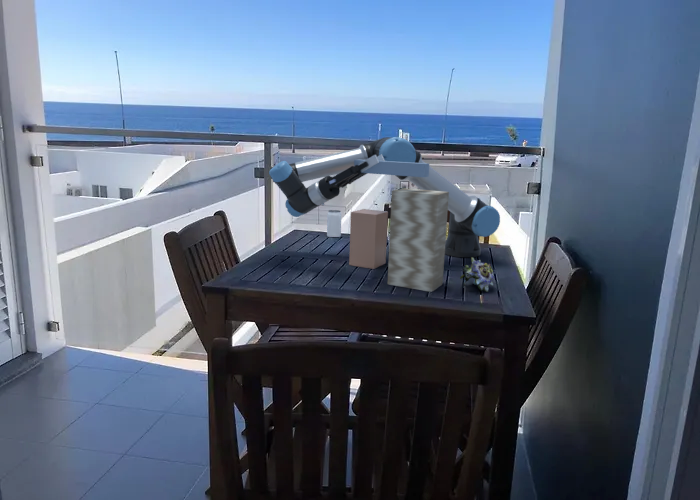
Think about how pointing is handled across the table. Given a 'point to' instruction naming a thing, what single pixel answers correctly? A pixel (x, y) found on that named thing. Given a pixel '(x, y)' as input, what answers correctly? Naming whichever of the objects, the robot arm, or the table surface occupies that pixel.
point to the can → (334, 223)
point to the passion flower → (479, 274)
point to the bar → (398, 168)
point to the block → (368, 238)
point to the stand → (417, 238)
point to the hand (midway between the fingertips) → (380, 158)
